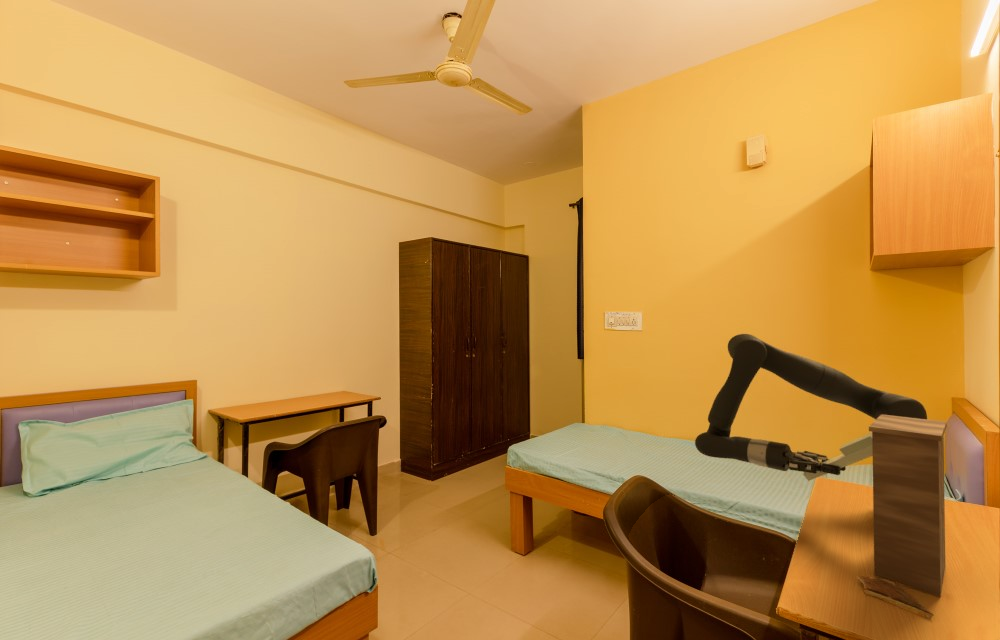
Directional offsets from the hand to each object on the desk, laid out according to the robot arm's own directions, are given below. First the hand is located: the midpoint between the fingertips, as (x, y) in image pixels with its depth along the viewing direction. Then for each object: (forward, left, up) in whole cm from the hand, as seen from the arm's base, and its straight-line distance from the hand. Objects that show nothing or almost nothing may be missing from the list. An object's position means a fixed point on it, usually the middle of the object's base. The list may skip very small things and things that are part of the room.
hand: (842, 468), depth 113 cm
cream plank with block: (0, +1, +1) cm, 2 cm away
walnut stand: (+11, +14, -16) cm, 24 cm away
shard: (+25, +13, -17) cm, 33 cm away
